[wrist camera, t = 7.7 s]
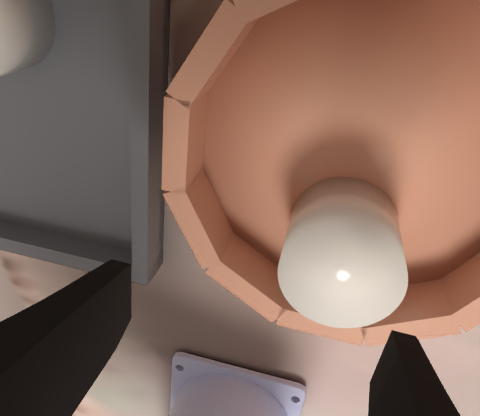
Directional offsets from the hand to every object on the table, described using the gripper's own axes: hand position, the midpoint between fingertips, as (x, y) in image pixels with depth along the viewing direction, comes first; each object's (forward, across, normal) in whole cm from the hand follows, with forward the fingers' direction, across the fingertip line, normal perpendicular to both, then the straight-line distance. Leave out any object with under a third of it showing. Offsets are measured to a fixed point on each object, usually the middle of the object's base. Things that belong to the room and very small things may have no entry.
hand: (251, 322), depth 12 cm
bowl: (+9, -2, -2) cm, 9 cm away
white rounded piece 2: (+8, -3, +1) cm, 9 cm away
